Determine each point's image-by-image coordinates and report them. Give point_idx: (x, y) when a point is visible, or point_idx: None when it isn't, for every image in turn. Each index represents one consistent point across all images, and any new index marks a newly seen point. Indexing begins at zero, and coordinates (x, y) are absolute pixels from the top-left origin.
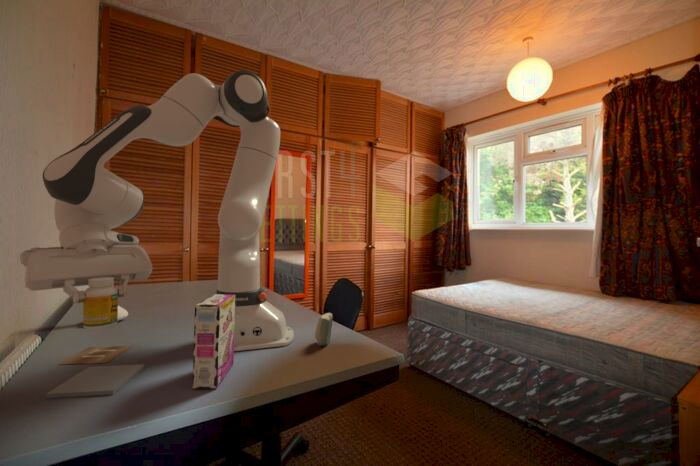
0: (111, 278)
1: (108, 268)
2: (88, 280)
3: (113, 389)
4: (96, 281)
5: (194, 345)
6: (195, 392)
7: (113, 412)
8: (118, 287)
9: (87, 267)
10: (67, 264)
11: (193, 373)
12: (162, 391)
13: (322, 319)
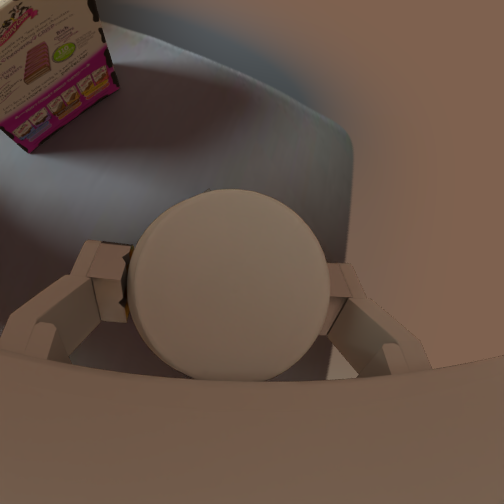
0: (175, 215)
1: (126, 438)
2: (327, 304)
3: (207, 191)
4: (294, 218)
5: (102, 31)
6: (124, 79)
7: (235, 125)
8: (116, 274)
9: (341, 471)
10: (473, 484)
11: (114, 70)
12: (149, 125)
13: None
